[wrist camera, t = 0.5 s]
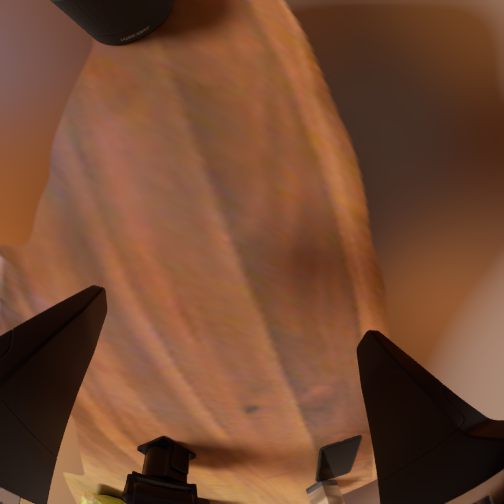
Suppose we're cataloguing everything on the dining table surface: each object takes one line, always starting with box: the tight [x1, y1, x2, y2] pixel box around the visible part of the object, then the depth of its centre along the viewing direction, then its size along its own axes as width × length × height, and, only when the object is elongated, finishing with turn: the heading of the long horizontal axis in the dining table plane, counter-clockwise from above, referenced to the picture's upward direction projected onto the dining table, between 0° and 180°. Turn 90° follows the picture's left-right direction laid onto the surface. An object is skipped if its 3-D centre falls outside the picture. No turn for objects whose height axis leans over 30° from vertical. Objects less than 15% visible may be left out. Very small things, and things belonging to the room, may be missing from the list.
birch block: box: [306, 480, 345, 504], centre depth 33 cm, size 4×4×10 cm
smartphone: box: [316, 435, 362, 482], centre depth 35 cm, size 7×1×15 cm
